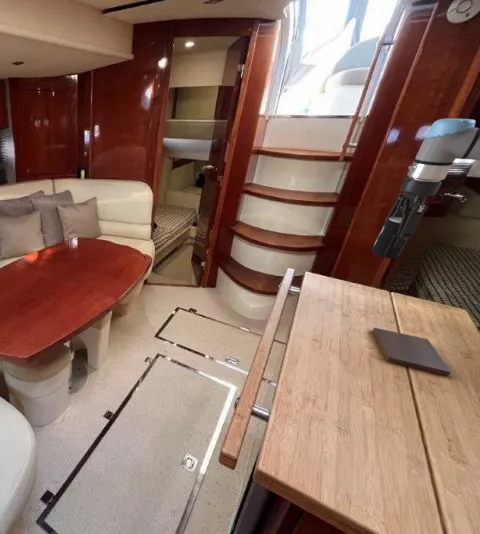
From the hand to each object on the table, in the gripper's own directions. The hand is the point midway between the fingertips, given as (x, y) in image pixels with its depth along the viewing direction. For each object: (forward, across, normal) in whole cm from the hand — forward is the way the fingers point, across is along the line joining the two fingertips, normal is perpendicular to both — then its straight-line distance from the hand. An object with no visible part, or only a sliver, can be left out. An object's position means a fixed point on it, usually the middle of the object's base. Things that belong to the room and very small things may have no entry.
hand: (386, 250), depth 98 cm
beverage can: (+2, 0, 0) cm, 2 cm away
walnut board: (+18, +27, +4) cm, 33 cm away
